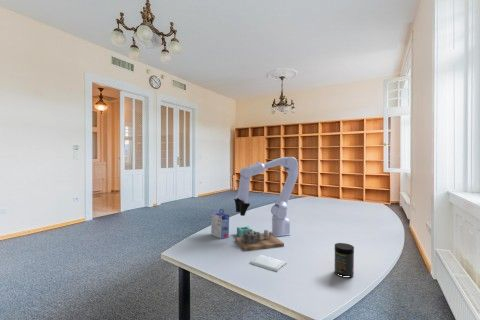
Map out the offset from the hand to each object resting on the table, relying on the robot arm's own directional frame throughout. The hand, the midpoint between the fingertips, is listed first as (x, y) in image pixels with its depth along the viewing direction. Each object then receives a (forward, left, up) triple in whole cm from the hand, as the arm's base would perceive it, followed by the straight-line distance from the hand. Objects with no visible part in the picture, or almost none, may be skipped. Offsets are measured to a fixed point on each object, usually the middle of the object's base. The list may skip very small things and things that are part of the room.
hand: (240, 213), depth 133 cm
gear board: (-6, +13, -12) cm, 19 cm away
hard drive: (0, +36, -13) cm, 38 cm away
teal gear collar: (-3, 0, -12) cm, 13 cm away
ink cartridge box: (+10, -4, -13) cm, 17 cm away
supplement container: (-24, +52, -13) cm, 59 cm away
